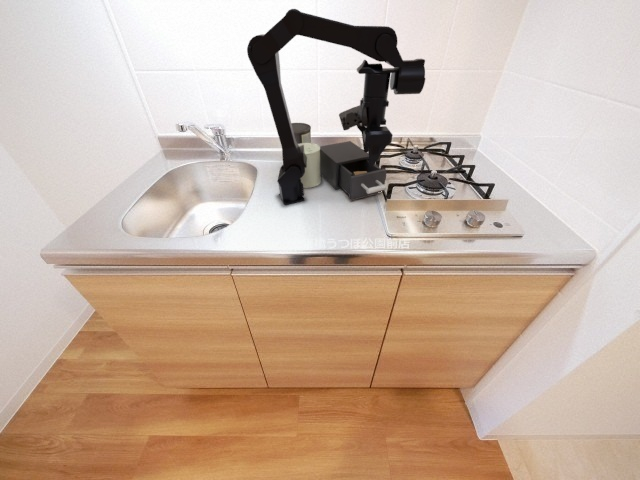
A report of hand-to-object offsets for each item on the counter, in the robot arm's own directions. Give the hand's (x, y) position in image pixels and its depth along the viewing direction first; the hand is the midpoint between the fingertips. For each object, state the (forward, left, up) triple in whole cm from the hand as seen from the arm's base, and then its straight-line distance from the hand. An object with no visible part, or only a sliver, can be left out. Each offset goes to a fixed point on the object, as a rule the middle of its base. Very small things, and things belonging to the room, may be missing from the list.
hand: (368, 158), depth 70 cm
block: (0, +3, -10) cm, 11 cm away
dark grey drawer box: (0, +15, -12) cm, 19 cm away
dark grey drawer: (0, +3, -11) cm, 11 cm away
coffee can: (-11, +30, -12) cm, 34 cm away
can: (-13, +17, -12) cm, 24 cm away
